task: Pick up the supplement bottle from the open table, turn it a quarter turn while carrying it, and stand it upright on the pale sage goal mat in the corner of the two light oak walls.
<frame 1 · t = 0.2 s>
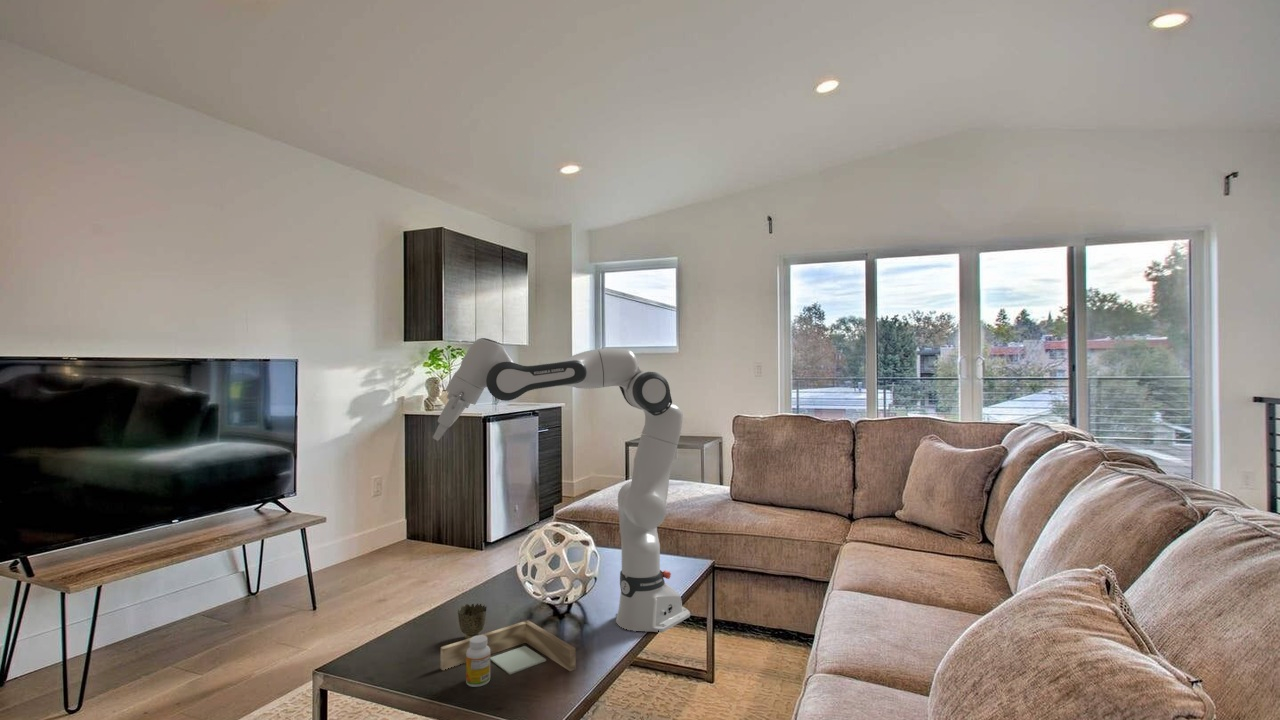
hand: (437, 437, 157), 54 cm above the table, tool tilted 30°, fingers open, 8 cm apart
goal mat: (517, 660, 145), on the table
oak corner walls: (509, 670, 140), on the table
cup: (472, 639, 157), on the table
supplement bottle: (478, 682, 135), on the table
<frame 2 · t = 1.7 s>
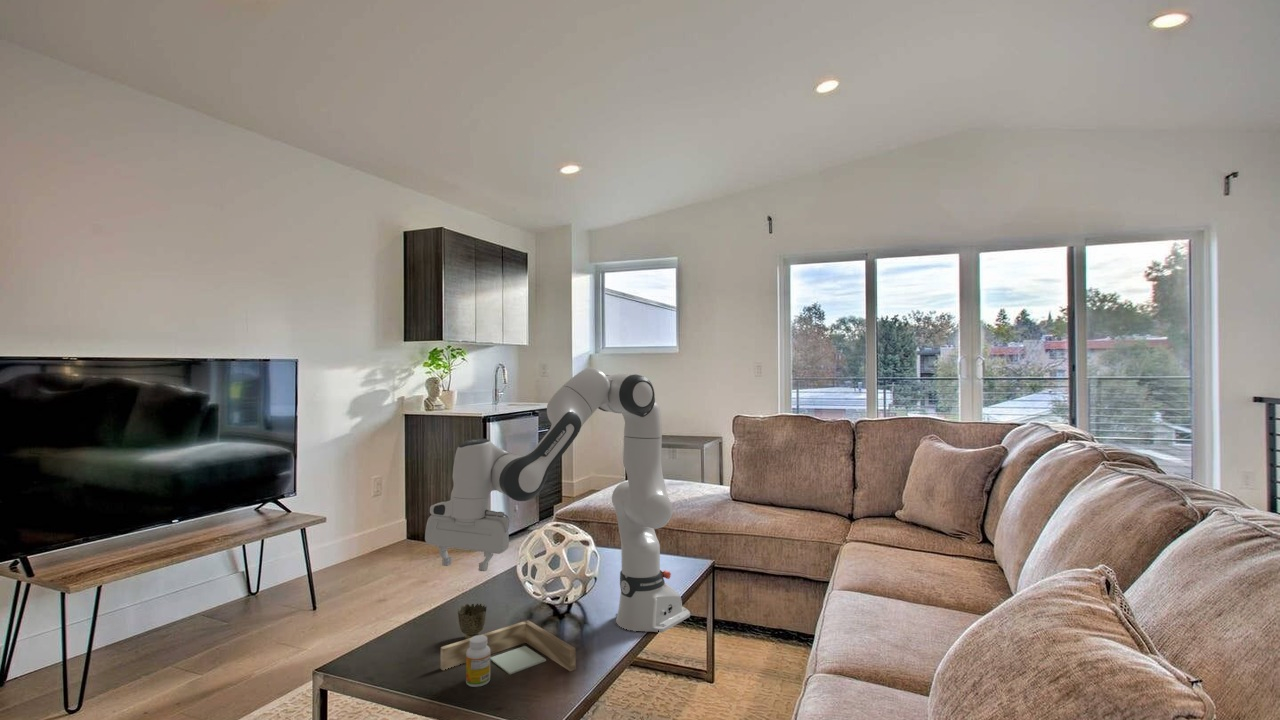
hand: (464, 568, 138), 25 cm above the table, tool pointing down, fingers open, 8 cm apart
nothing on the table moved.
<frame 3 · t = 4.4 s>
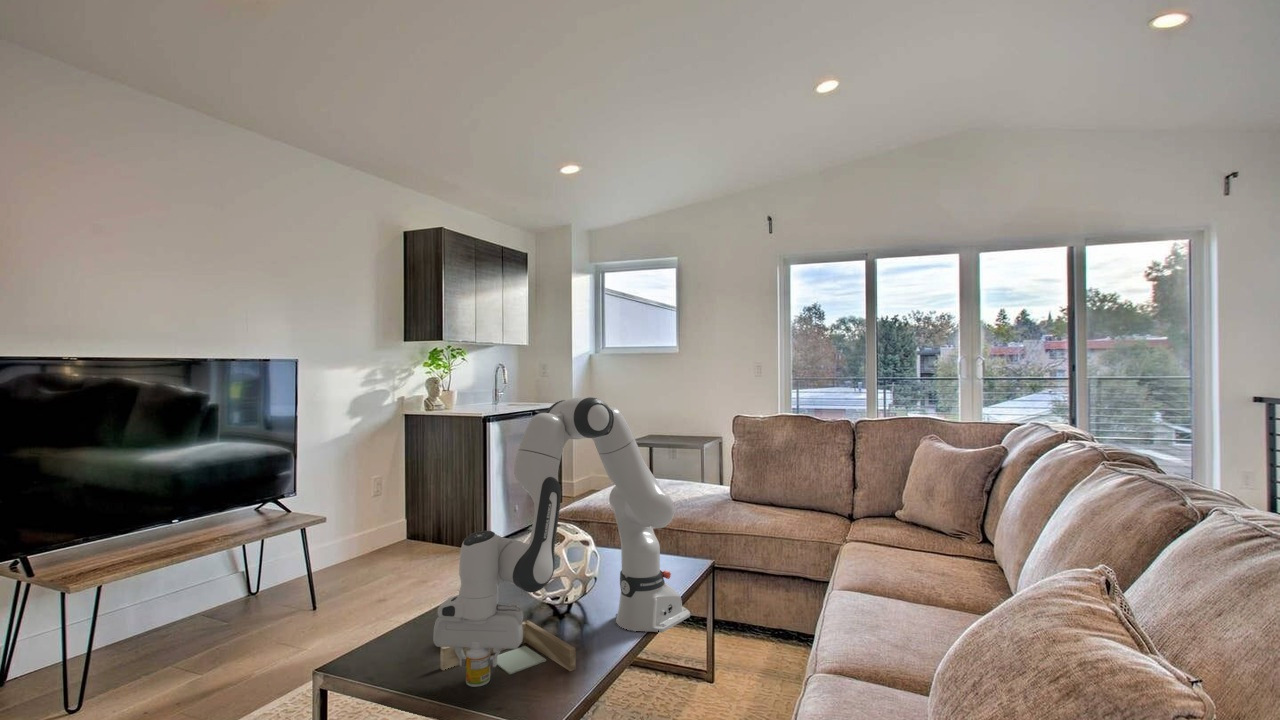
hand: (478, 665, 135), 4 cm above the table, tool pointing down, fingers closed on supplement bottle, 5 cm apart
supplement bottle: (478, 682, 135), on the table, touching gripper
everything else where it was.
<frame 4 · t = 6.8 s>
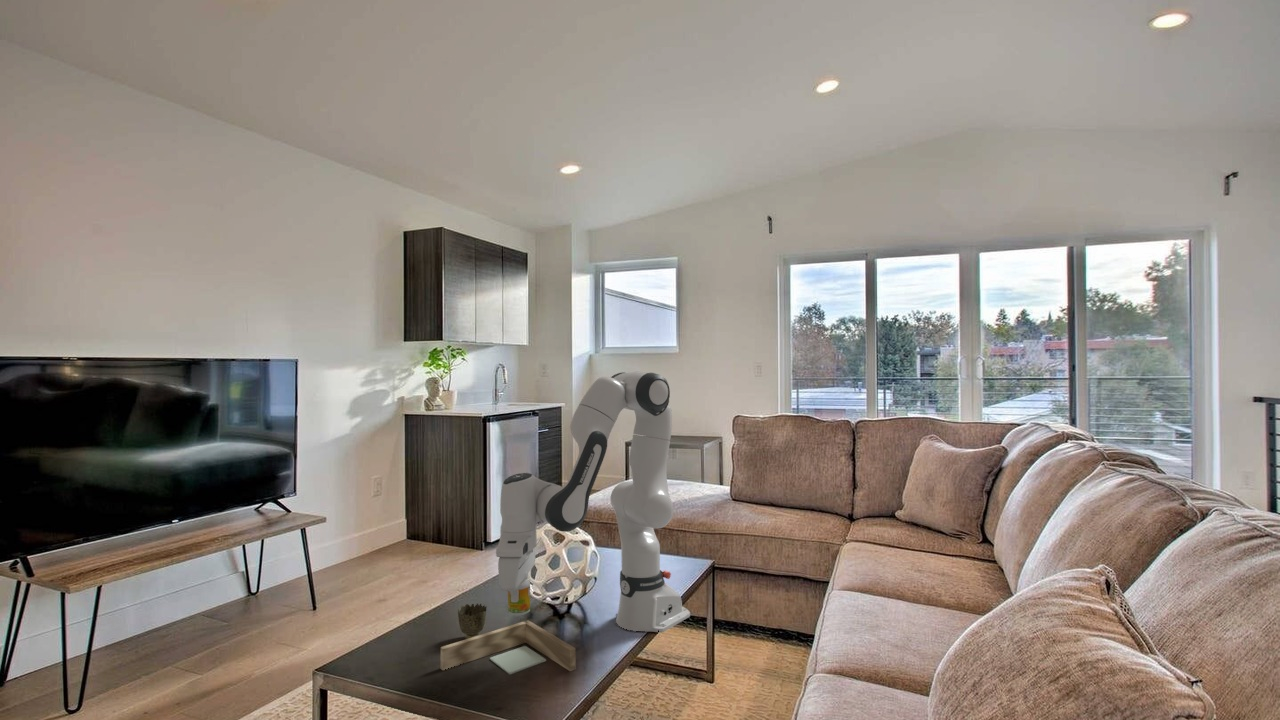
hand: (519, 596, 146), 16 cm above the table, tool pointing down, fingers closed on supplement bottle, 5 cm apart
supplement bottle: (519, 612, 146), point 12 cm above the table, touching gripper
everything else where it was.
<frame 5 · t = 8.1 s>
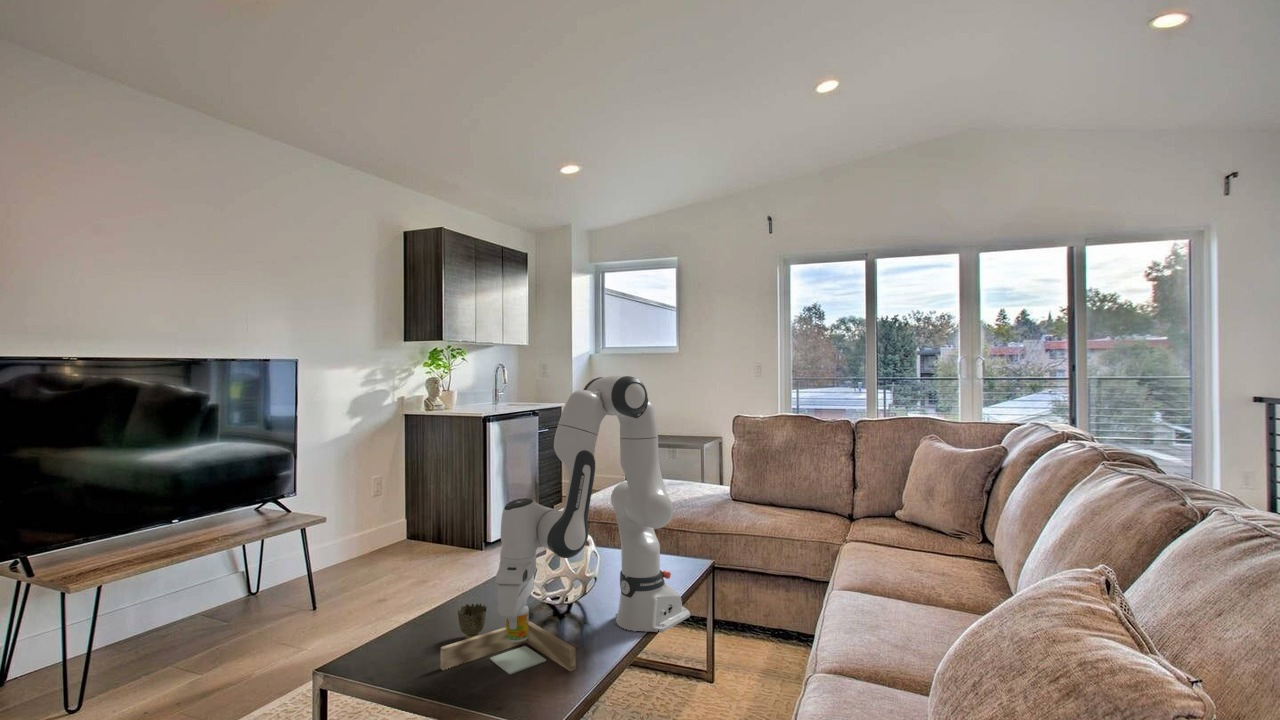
hand: (517, 622, 145), 9 cm above the table, tool pointing down, fingers closed on supplement bottle, 5 cm apart
supplement bottle: (517, 639, 145), point 5 cm above the table, touching gripper
everything else where it was.
when the fingers open (5 cm above the table, at t = 9.2 s): supplement bottle drops 1 cm, resting on goal mat.
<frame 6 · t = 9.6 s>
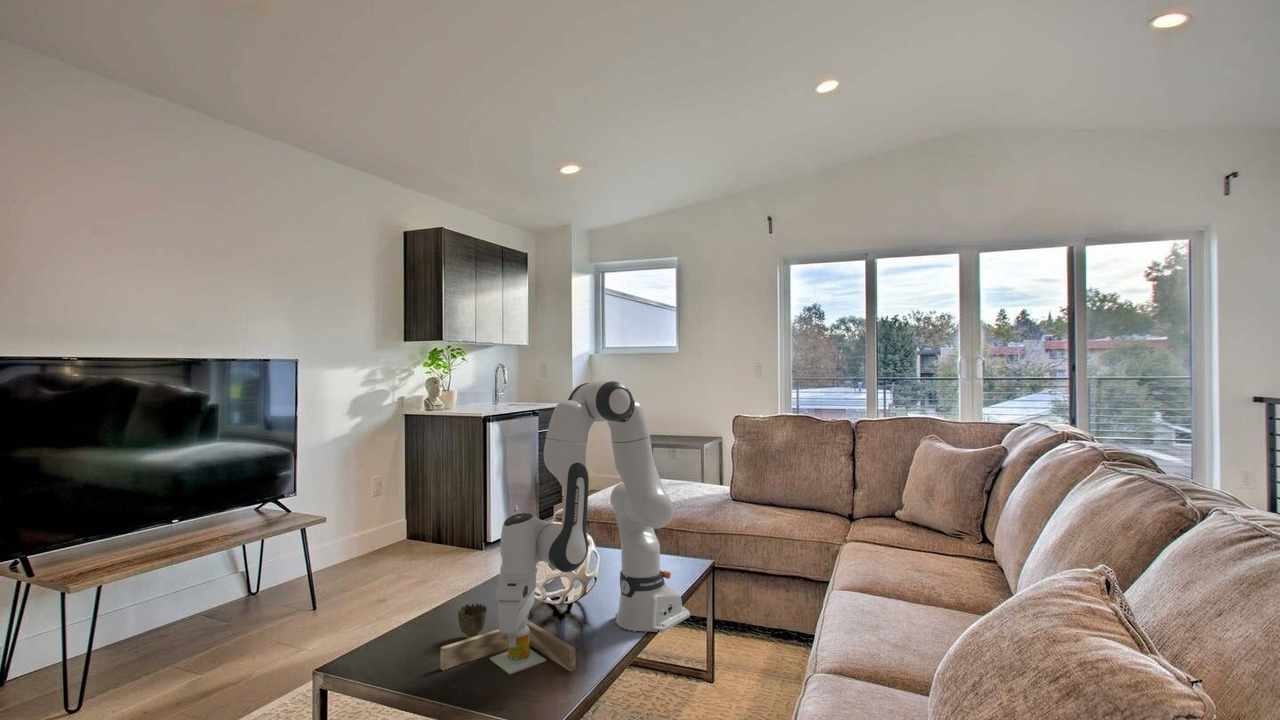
hand: (518, 637, 145), 5 cm above the table, tool pointing down, fingers open, 8 cm apart
supplement bottle: (518, 659, 145), resting on goal mat
everything else where it was.
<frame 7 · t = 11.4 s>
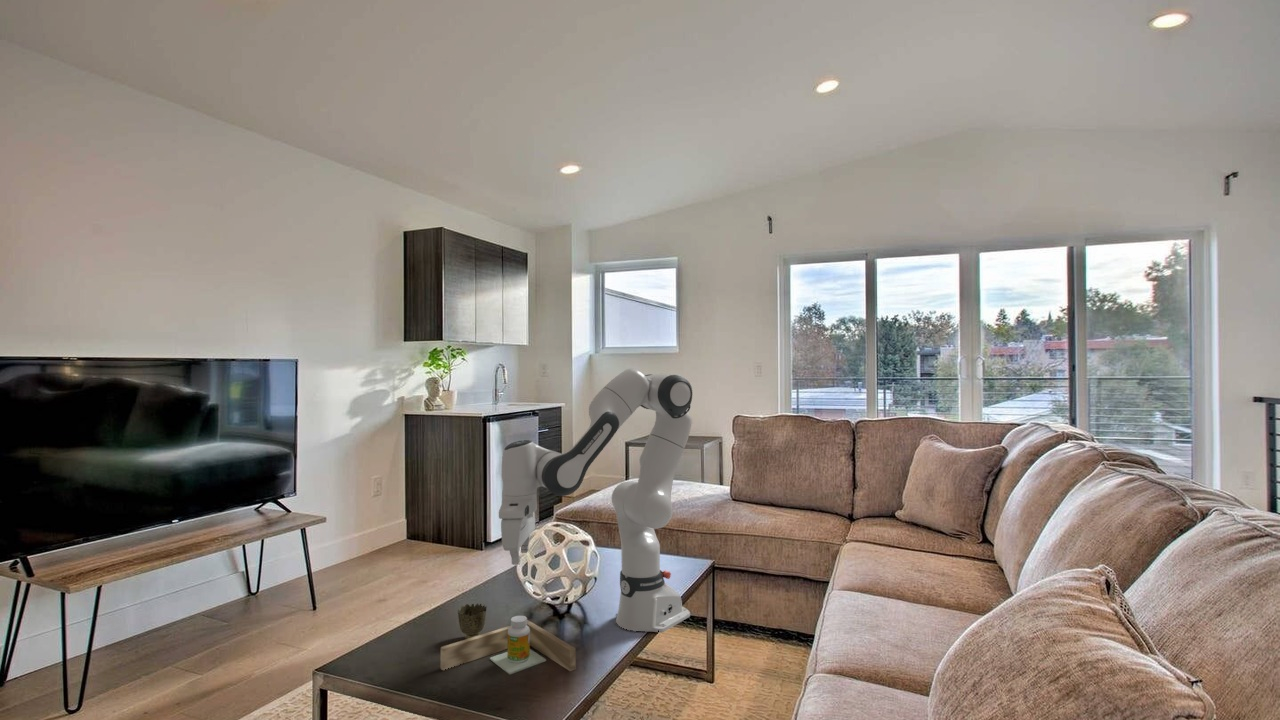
hand: (520, 557, 152), 23 cm above the table, tool pointing down, fingers open, 8 cm apart
nothing on the table moved.
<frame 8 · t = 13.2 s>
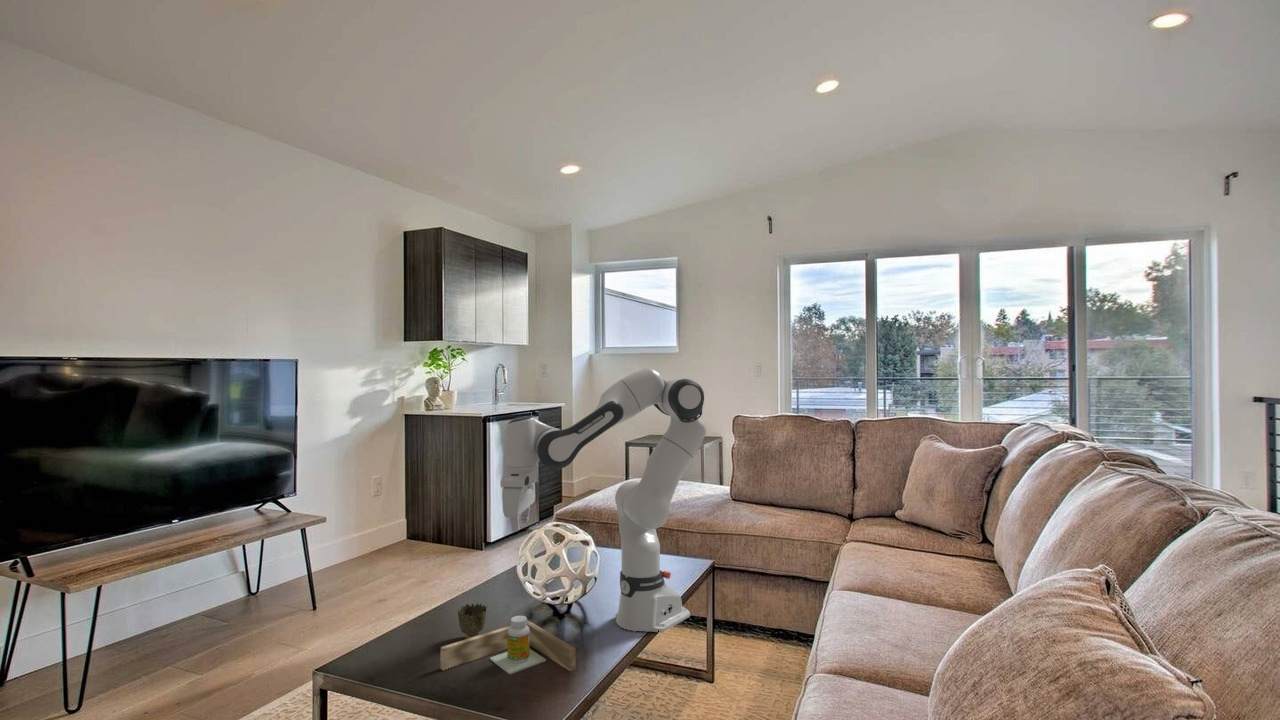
hand: (520, 526, 161), 29 cm above the table, tool pointing down, fingers open, 8 cm apart
nothing on the table moved.
at the end: supplement bottle 0.2 cm off-centre on the goal mat, point 0.2 cm above the goal mat's base; supplement bottle tilted 0°; the gripper is holding nothing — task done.
